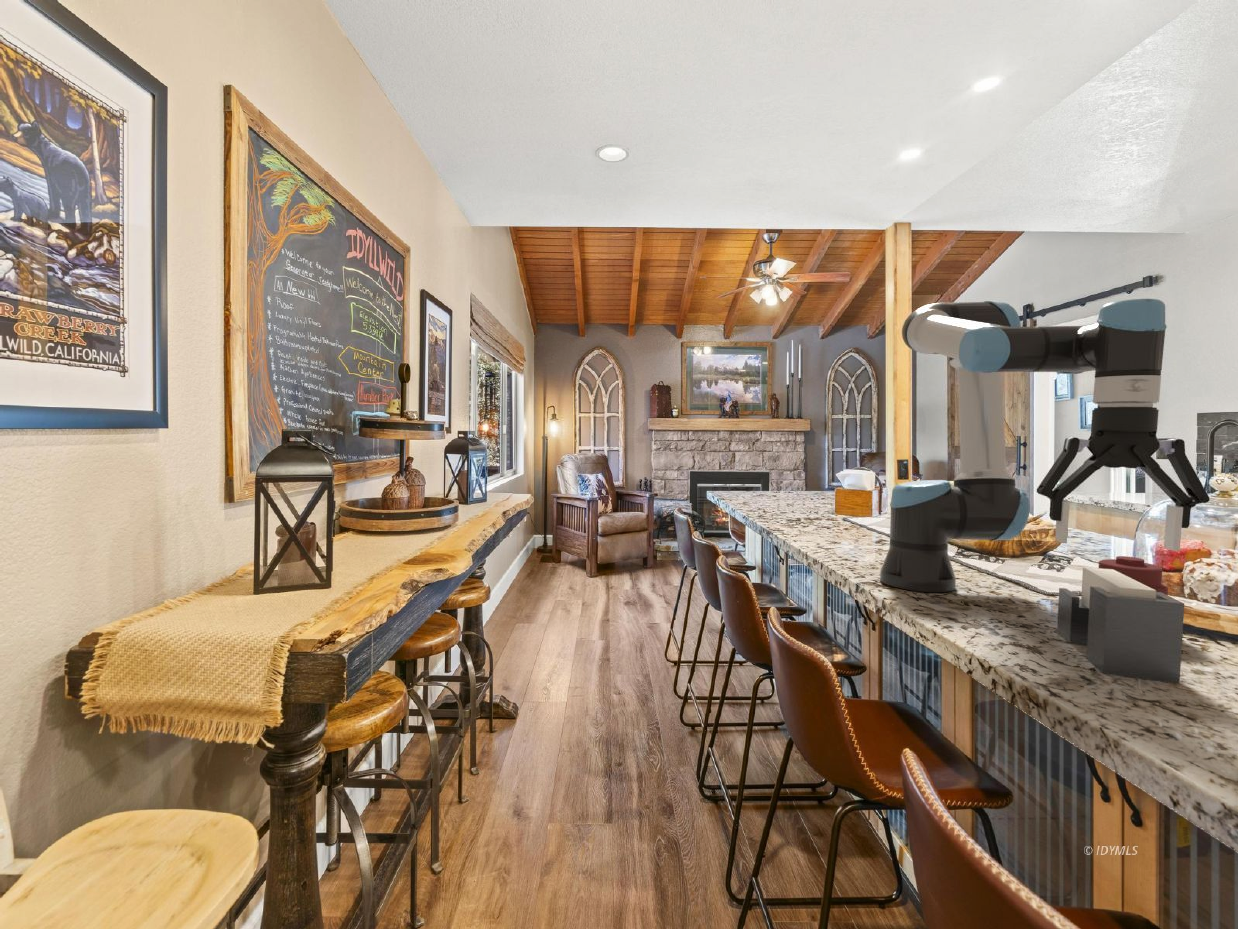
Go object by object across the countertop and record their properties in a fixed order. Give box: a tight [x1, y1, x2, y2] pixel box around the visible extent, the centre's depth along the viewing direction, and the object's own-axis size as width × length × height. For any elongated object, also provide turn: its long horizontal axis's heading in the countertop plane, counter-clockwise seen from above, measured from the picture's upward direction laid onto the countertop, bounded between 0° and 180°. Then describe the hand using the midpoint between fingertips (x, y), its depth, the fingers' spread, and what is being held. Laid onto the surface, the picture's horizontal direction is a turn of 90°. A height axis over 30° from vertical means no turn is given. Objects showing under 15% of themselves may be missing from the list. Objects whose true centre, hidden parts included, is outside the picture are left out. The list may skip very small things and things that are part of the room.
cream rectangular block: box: [1080, 566, 1156, 608], centre depth 88 cm, size 14×4×6 cm, turn 158°
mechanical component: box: [1098, 555, 1169, 596], centre depth 101 cm, size 12×10×10 cm
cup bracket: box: [1086, 586, 1185, 684], centre depth 82 cm, size 6×8×11 cm
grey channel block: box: [1056, 587, 1089, 646], centre depth 95 cm, size 6×8×8 cm
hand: (1114, 545), depth 88 cm, fingers open, 13 cm apart
